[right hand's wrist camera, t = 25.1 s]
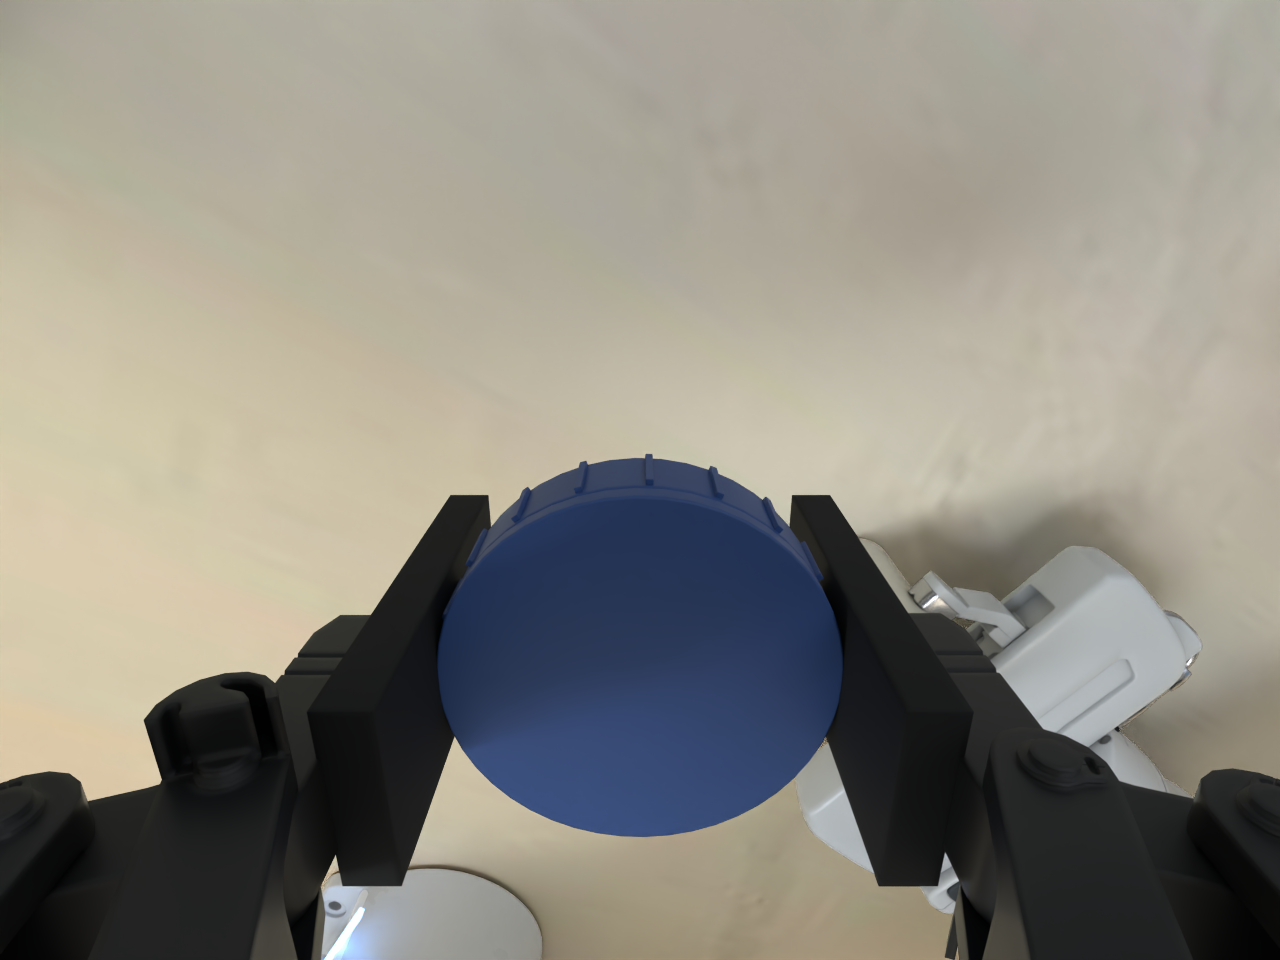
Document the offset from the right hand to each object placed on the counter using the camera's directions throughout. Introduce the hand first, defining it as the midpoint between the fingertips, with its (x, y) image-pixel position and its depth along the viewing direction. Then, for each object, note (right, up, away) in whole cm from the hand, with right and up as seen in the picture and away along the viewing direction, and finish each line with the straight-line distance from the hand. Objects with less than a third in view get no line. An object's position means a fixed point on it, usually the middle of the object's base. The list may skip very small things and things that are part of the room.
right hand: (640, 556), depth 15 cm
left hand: (+11, -6, +20) cm, 24 cm away
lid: (0, -1, -4) cm, 4 cm away
